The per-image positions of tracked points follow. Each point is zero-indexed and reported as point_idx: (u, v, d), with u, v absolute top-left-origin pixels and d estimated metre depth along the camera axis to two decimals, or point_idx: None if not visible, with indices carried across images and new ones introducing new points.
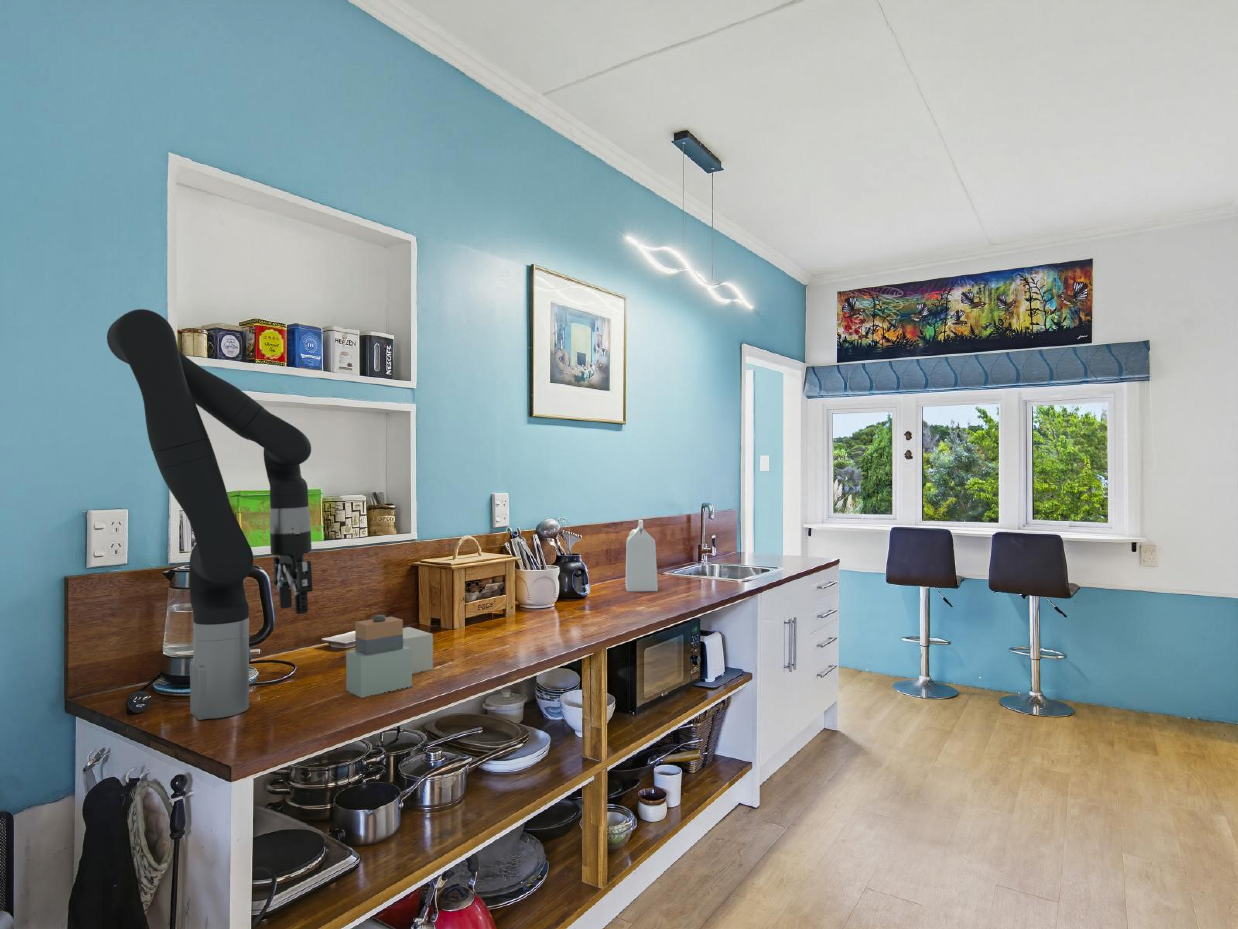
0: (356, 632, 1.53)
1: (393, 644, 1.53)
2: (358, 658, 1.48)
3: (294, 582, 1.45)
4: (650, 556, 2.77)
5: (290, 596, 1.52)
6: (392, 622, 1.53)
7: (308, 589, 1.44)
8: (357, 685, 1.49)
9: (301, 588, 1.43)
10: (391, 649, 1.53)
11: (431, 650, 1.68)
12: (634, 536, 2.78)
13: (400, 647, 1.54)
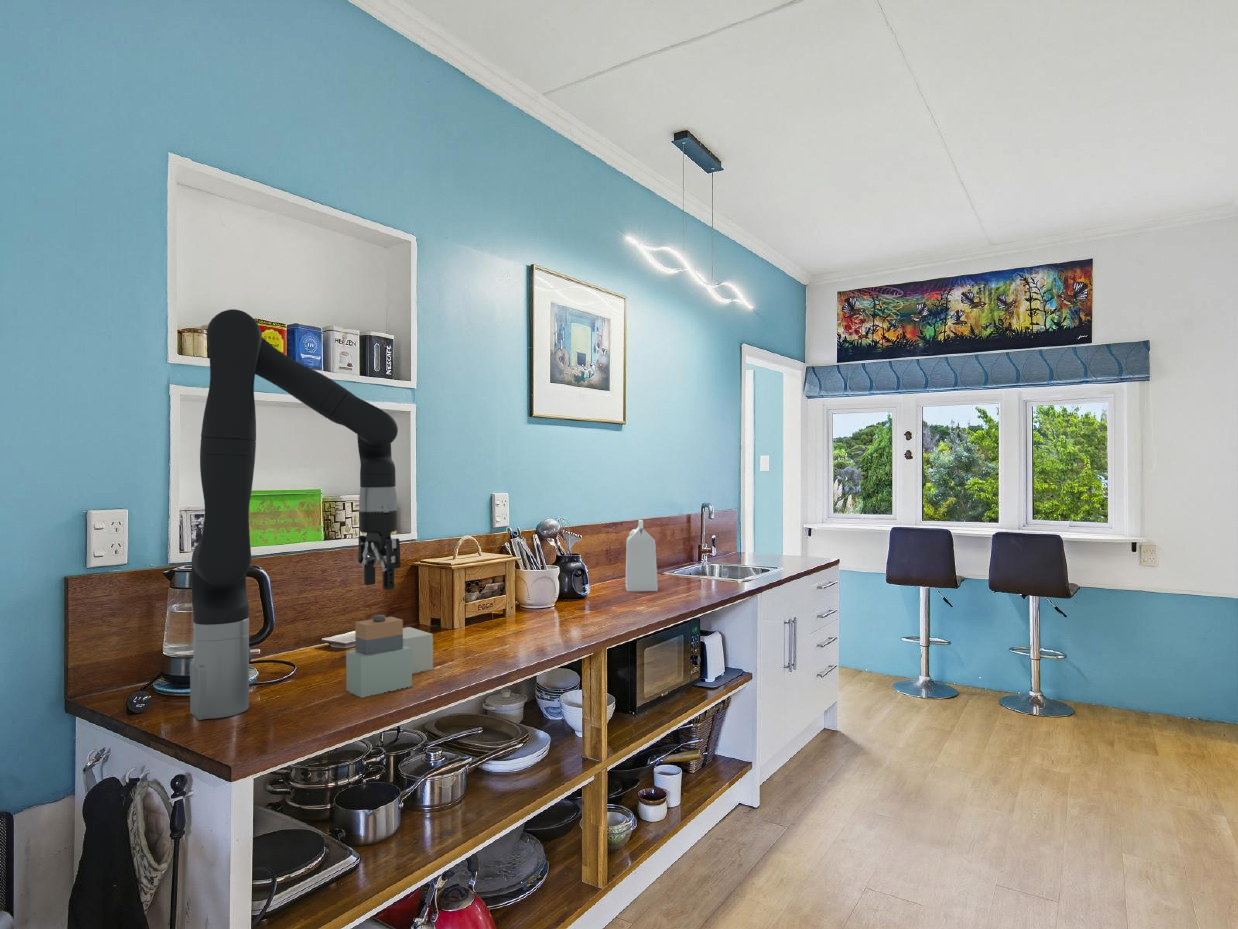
0: (356, 632, 1.53)
1: (393, 644, 1.53)
2: (358, 658, 1.48)
3: (382, 559, 1.50)
4: (650, 556, 2.77)
5: (374, 574, 1.57)
6: (392, 622, 1.53)
7: (396, 565, 1.49)
8: (357, 685, 1.49)
9: (390, 564, 1.48)
10: (391, 649, 1.53)
11: (431, 650, 1.68)
12: (634, 536, 2.78)
13: (400, 647, 1.54)
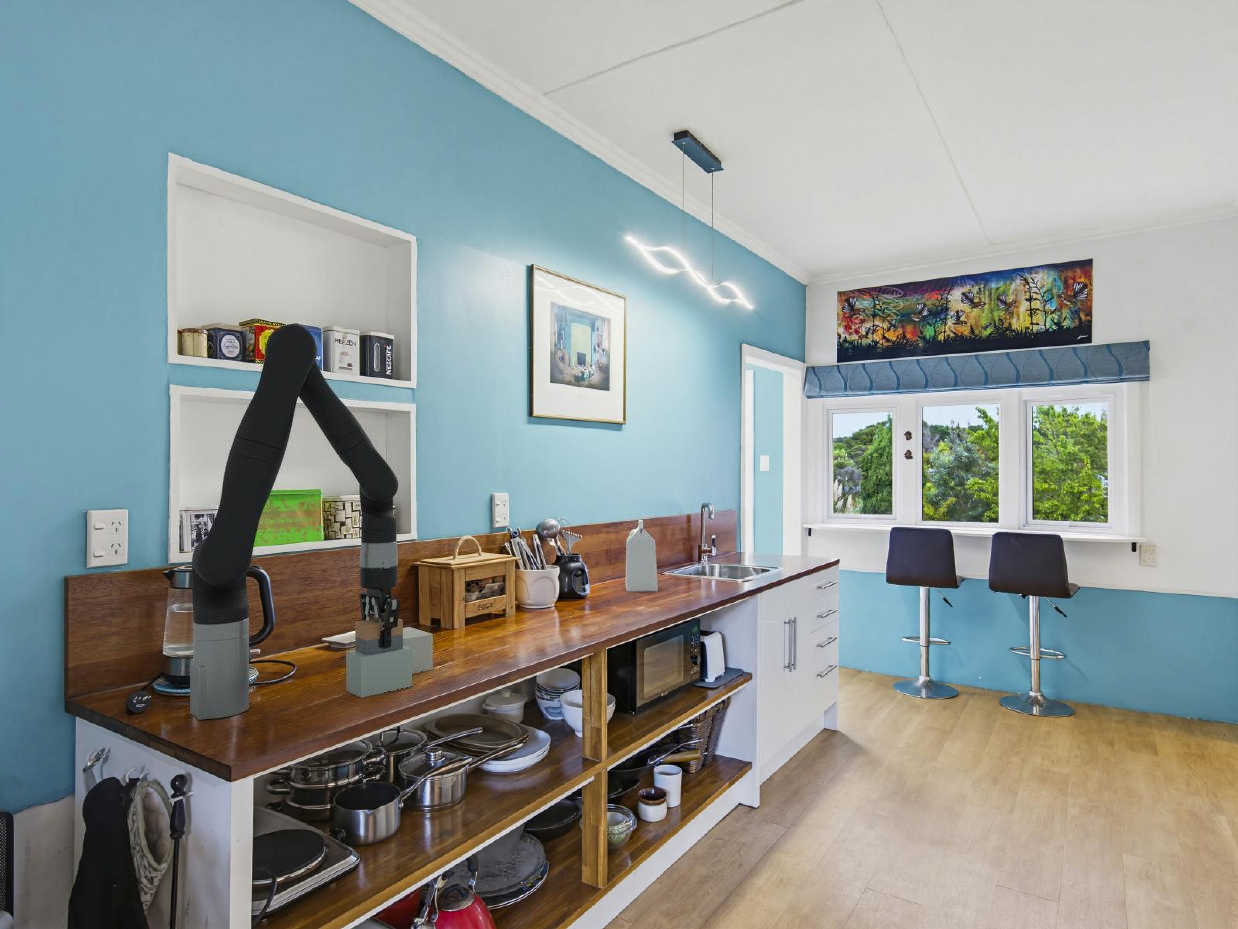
0: (356, 632, 1.53)
1: (393, 644, 1.53)
2: (358, 658, 1.48)
3: (381, 618, 1.51)
4: (650, 556, 2.77)
5: None
6: None
7: (393, 625, 1.50)
8: (357, 685, 1.49)
9: (387, 624, 1.49)
10: (391, 649, 1.53)
11: (431, 650, 1.68)
12: (634, 536, 2.78)
13: (400, 647, 1.54)
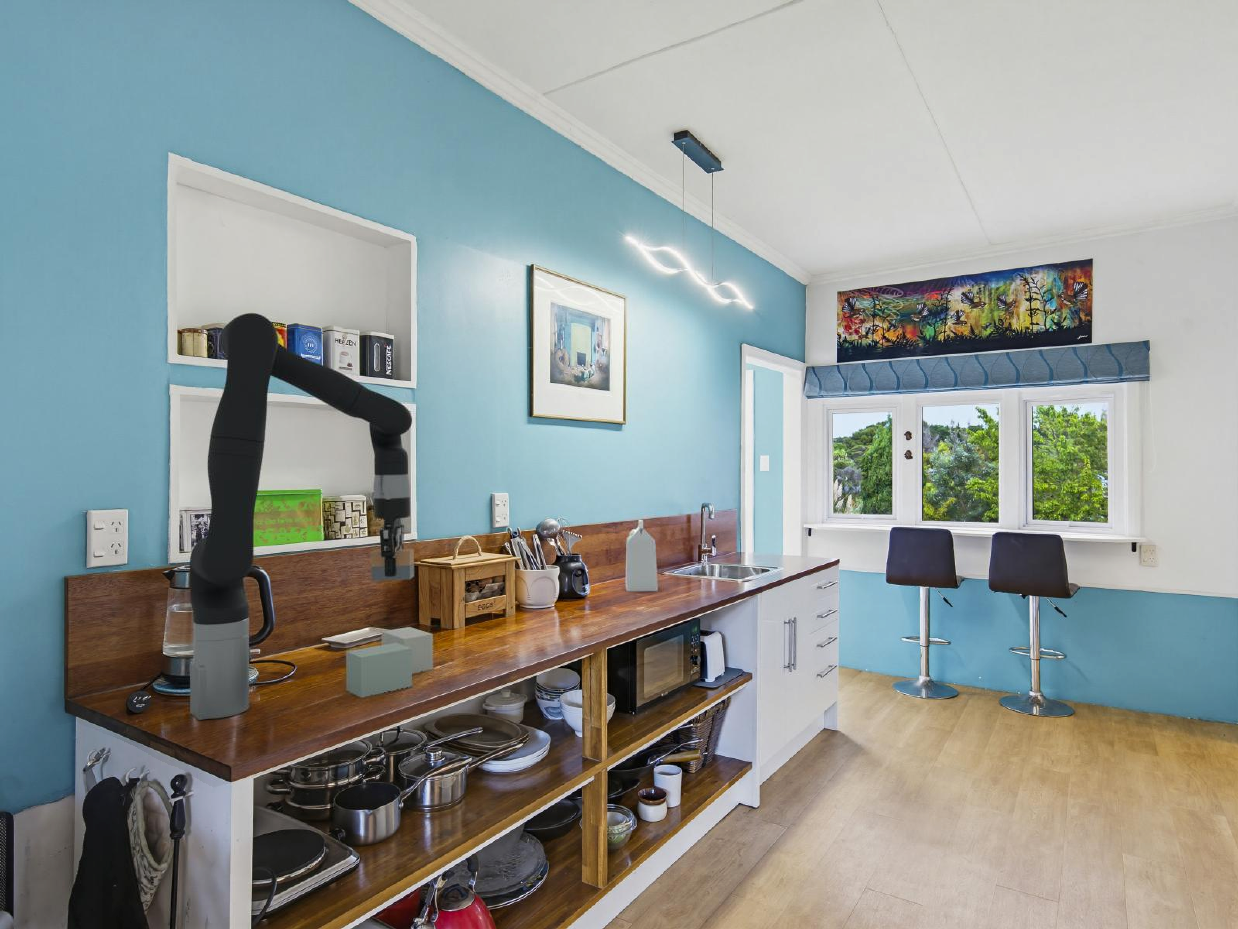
0: None
1: (400, 573, 1.58)
2: (358, 658, 1.48)
3: (384, 546, 1.57)
4: (650, 556, 2.77)
5: None
6: (398, 552, 1.58)
7: (389, 554, 1.55)
8: (357, 685, 1.49)
9: (382, 552, 1.55)
10: (397, 578, 1.58)
11: (431, 650, 1.68)
12: (634, 536, 2.78)
13: (407, 578, 1.58)
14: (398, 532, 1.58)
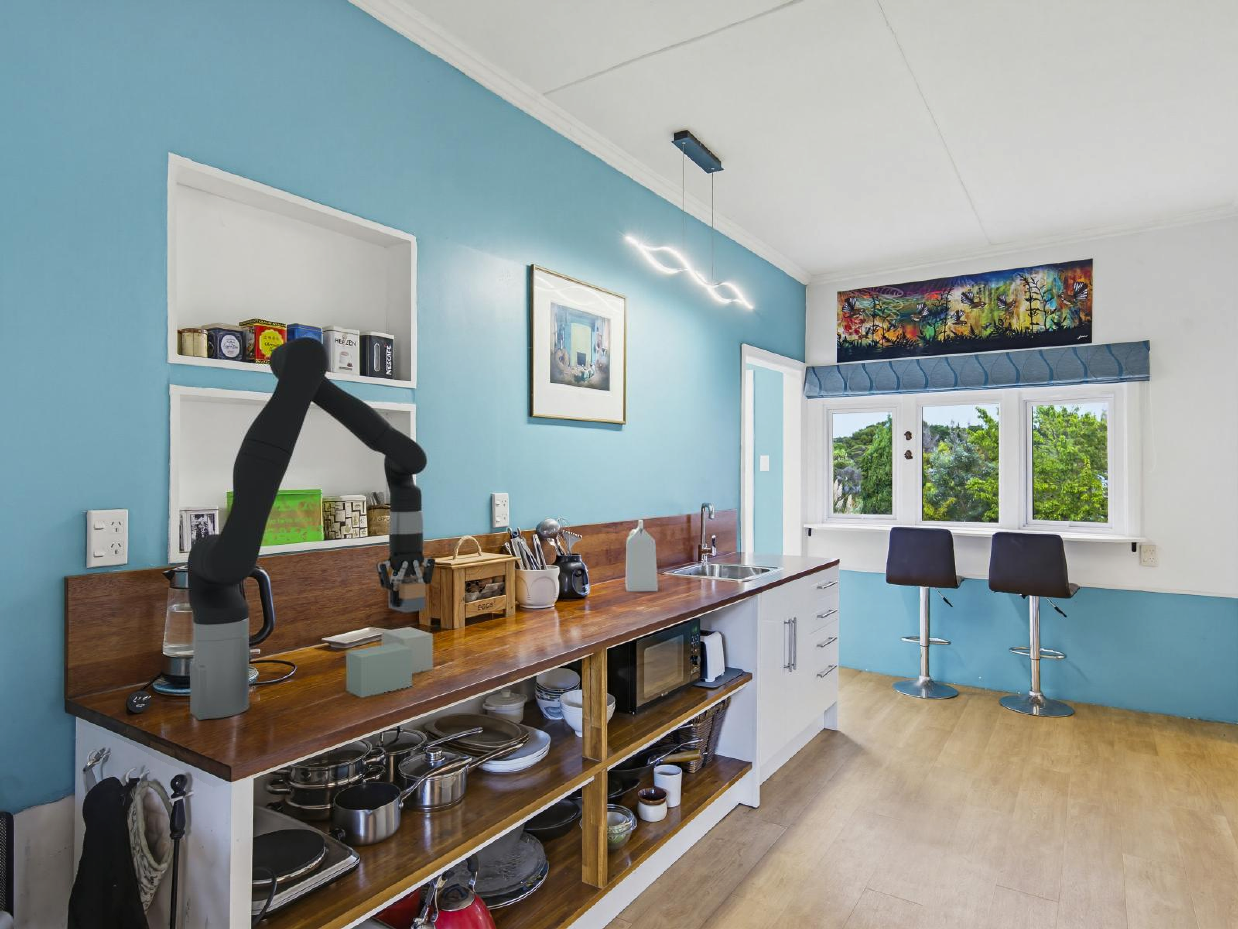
0: None
1: (400, 605, 1.67)
2: (358, 658, 1.48)
3: (391, 578, 1.69)
4: (650, 556, 2.77)
5: None
6: (400, 585, 1.67)
7: (384, 586, 1.66)
8: (357, 685, 1.49)
9: (381, 584, 1.67)
10: (399, 610, 1.67)
11: (431, 650, 1.68)
12: (634, 536, 2.78)
13: (403, 610, 1.66)
14: (401, 566, 1.68)
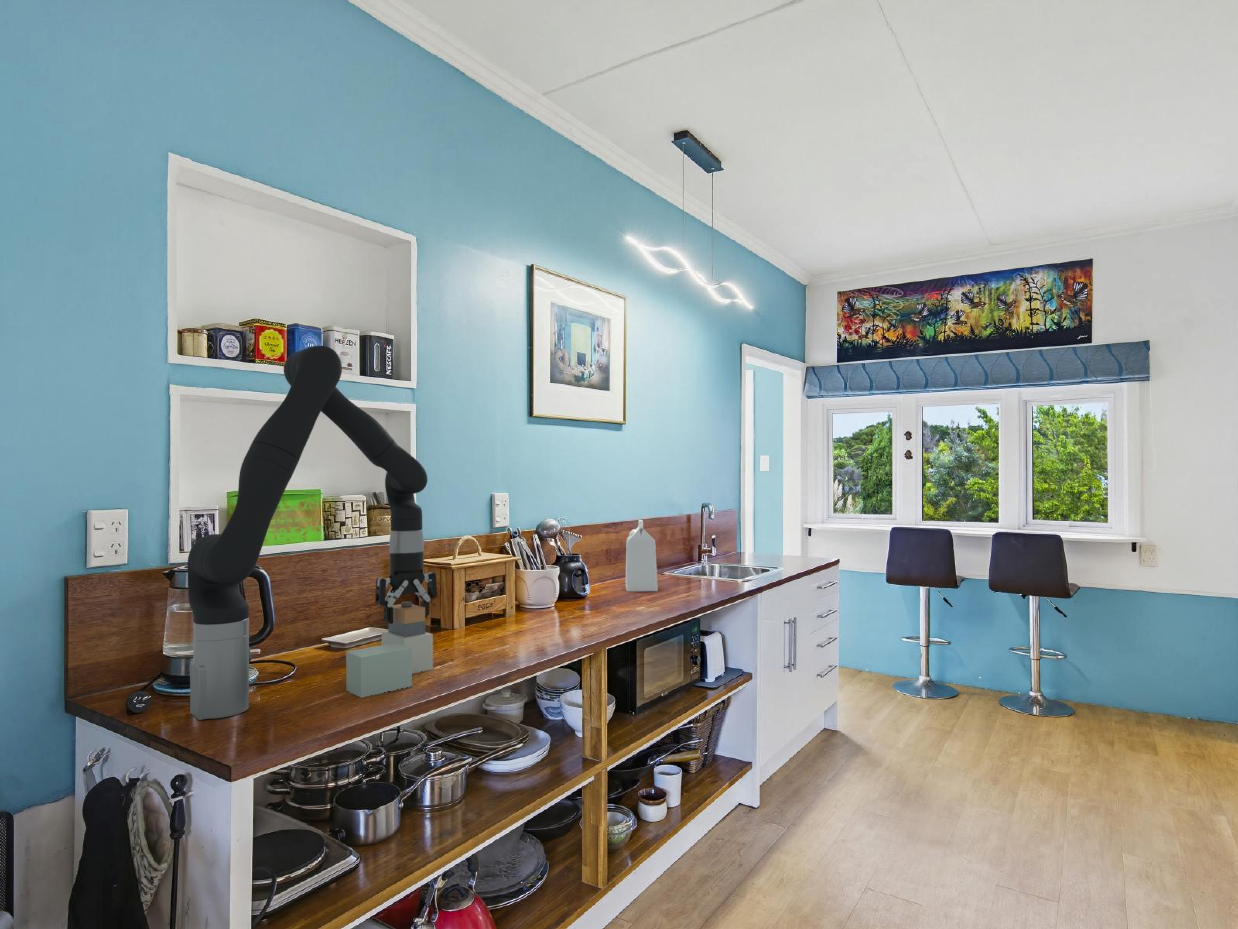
0: None
1: (400, 630, 1.67)
2: (358, 658, 1.48)
3: (387, 594, 1.68)
4: (650, 556, 2.77)
5: None
6: (400, 610, 1.67)
7: (378, 603, 1.65)
8: (357, 685, 1.49)
9: (375, 600, 1.66)
10: (399, 634, 1.67)
11: (431, 650, 1.68)
12: (634, 536, 2.78)
13: (403, 635, 1.66)
14: (401, 584, 1.67)
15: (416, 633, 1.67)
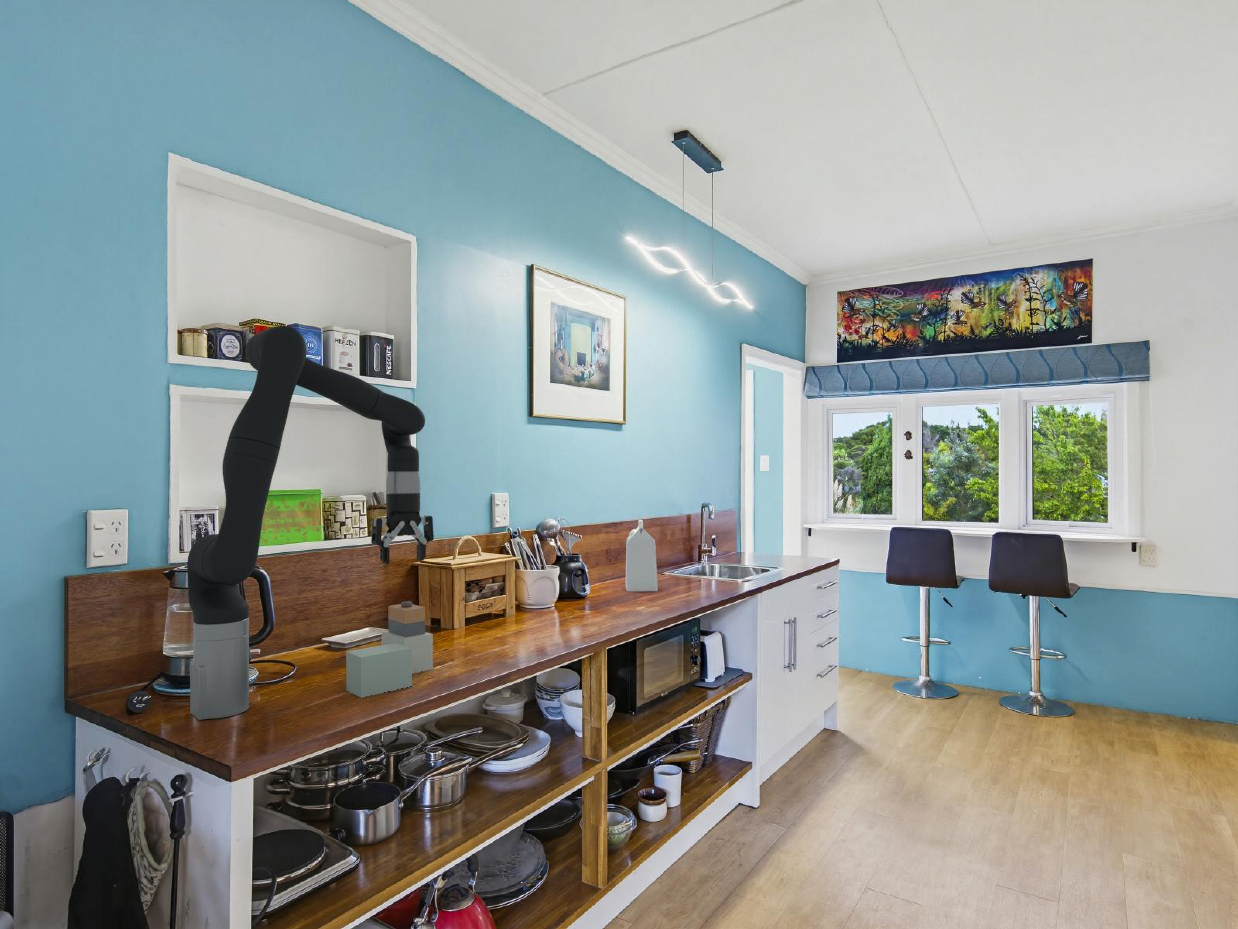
0: None
1: (400, 630, 1.67)
2: (358, 658, 1.48)
3: (384, 535, 1.68)
4: (650, 556, 2.77)
5: (420, 551, 1.72)
6: (400, 610, 1.67)
7: (374, 542, 1.65)
8: (357, 685, 1.49)
9: (372, 540, 1.66)
10: (399, 634, 1.67)
11: (431, 650, 1.68)
12: (634, 536, 2.78)
13: (403, 635, 1.66)
14: (397, 525, 1.67)
15: (416, 633, 1.67)
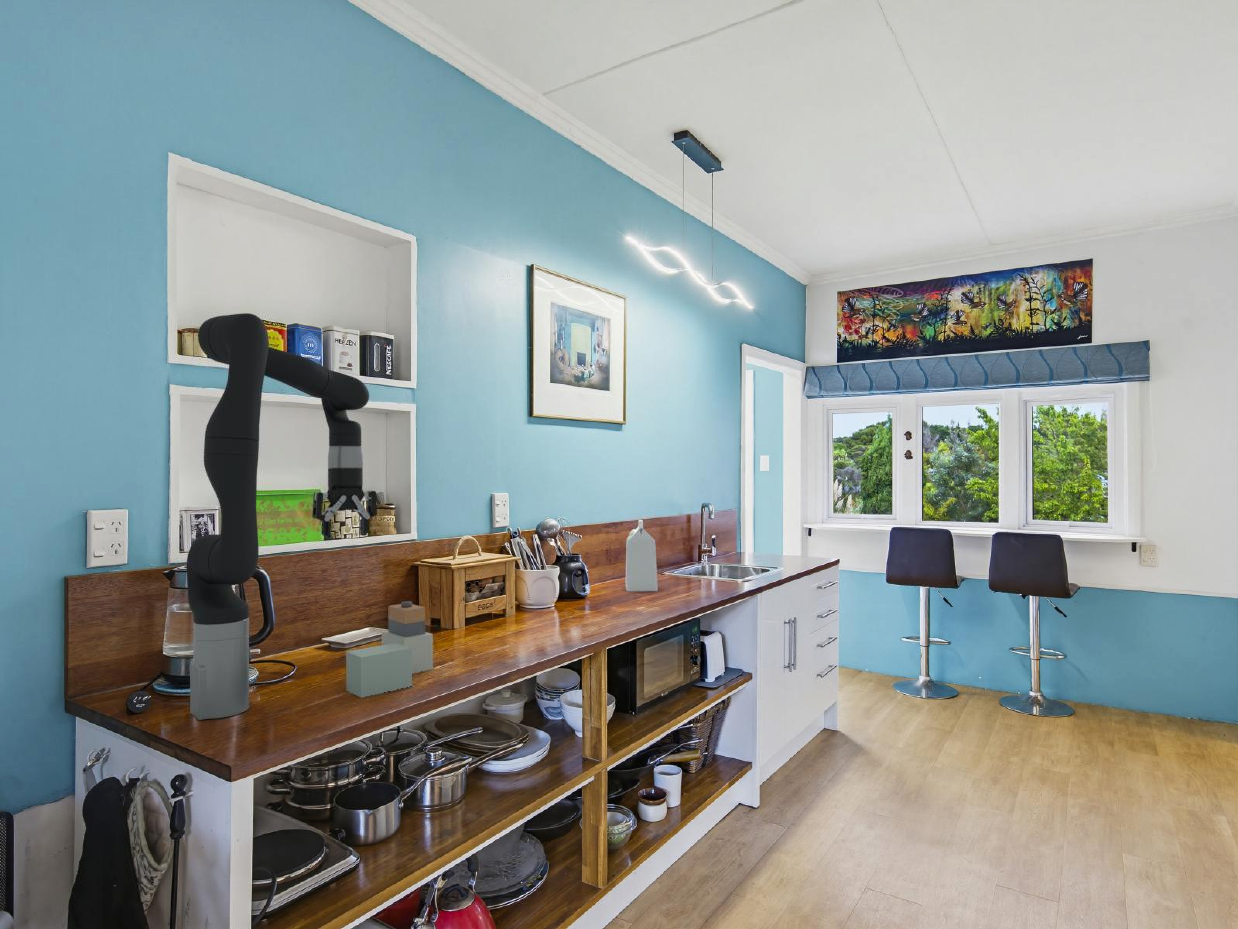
0: None
1: (400, 630, 1.67)
2: (358, 658, 1.48)
3: (325, 510, 1.69)
4: (650, 556, 2.77)
5: (363, 526, 1.73)
6: (400, 610, 1.67)
7: (315, 516, 1.65)
8: (357, 685, 1.49)
9: (313, 514, 1.66)
10: (399, 634, 1.67)
11: (431, 650, 1.68)
12: (634, 536, 2.78)
13: (403, 635, 1.66)
14: (339, 499, 1.68)
15: (416, 633, 1.67)
